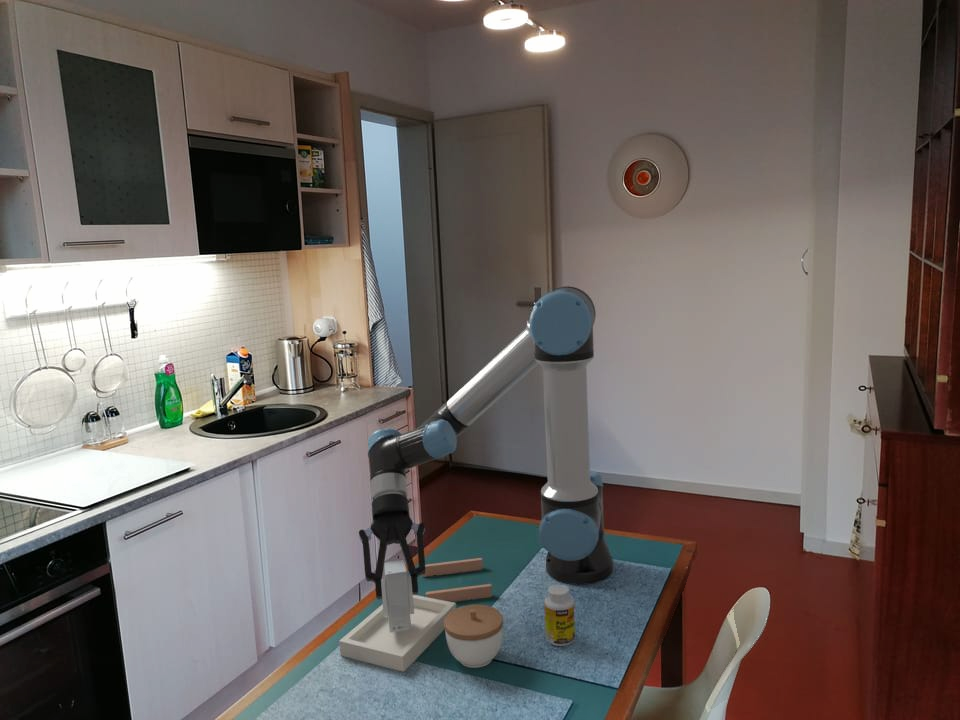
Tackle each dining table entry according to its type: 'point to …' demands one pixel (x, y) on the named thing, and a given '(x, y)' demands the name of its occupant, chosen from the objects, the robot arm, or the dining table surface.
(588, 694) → the dining table surface
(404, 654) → the cream tray
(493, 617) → the lidded jar
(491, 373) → the robot arm
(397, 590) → the skincare box
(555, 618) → the supplement bottle
